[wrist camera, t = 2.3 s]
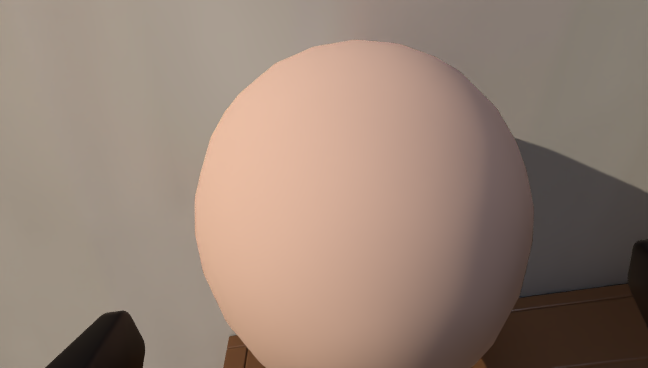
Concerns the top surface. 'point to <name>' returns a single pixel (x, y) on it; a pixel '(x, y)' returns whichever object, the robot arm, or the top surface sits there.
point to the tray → (550, 333)
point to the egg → (364, 212)
